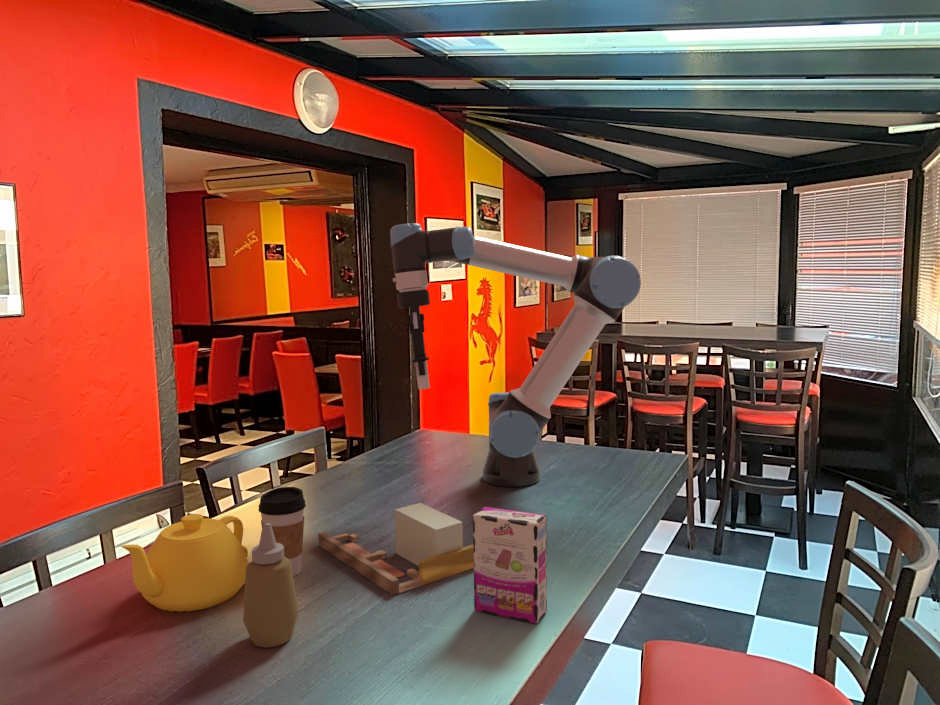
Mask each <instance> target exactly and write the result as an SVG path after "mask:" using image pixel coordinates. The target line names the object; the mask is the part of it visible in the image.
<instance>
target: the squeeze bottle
mask: <svg viewBox="0 0 940 705" xmlns="http://www.w3.org/2000/svg"><path fill="white" fill-rule="evenodd" d="M295 588H296V586H295V580H294V576H293V573H292V566H291V561H290V560H289V559H288V558H286V557H284V546H283V545H282V544H280V543H276V541H275V537H274V534H273V530H272V527H271V524H270V523H265V524H263V526H262V525H261V532H260V539H259V544H257V545H255V546H253V547H252V549H251V561H250V562H248V565H247V567H246V578H245V583H244V596H243V600H244V601H243V613H242V614H243V617H242V618H243V619H242V622H243V624H244V626H245V629H246V631H247V633H248V635H249V637H250V640H251V642H252V644H253V645H254V646H256V647H258V648H265V649H267V648H274V647H278V646H281V645H284V644H286V643H287V642H288V641H290V639H291V638H292V636H293V633H294V629H295V626H296V622H297V619H298V614H299V607H298V600H297V594H296V589H295Z"/></svg>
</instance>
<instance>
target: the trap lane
mask: <svg viewBox="0 0 940 705" xmlns="http://www.w3.org/2000/svg"><path fill="white" fill-rule="evenodd" d="M345 541H351V542H349V543H345V544H344V543H343V542H345ZM356 542H360V536H359V535H357V534H356V533H351V534H348V533H342V534H338V535H335V536H331V535H329V534H328V533H326V532H325V531H322V532H319V533H318V546H319V547H321V548H322V549H324V550H325V551H327V552H328V553H330V554H331V555H333V556H334V557H335V558H336V559H339V560H340V561H342V562H343V563H344V564H346V565H347V566H349V567H350V568H352V569H353V570H355V571H357V573H359V574H361V575H362V576H364V577H365V578H367V579H368V580H369V581H371V582H372V583H374V584H376V585H377V586H378V587H380V588H381V589H383V590H384V591H386V592H388V593H389V594H390V595H391V596H395V595H398V594H399V595H400V594H401V593H404V592H407V591H411V590H413V589H415V588H418V587H421V586H425V585H427V584H431V583H433V582H437V581H439V580H442V579H446V578H449V577H452V576H454V575H456V574H460V573H463V572H465V571H469V570H471V569H472V570H473V569H474V548H473V543H472V544H469V545H467V546H463V548H460V549H456V550H453V551H450V552H447V553H444V554H441V555H437V556H434V557H431V558H428V559H425V560H422V561H419V566H418V570H416V569H414V568H409V569H407V570H406V574H405V573H404V572H402V571H400V570H398V568H395V567H394V566H393V565H391V564H389V563H388V562H386V561H384V560H385V559H387V558H388V552H386V551H384V550H382V549H380V550H376V551H375V552H373V553H371V552H370V551H368V550H366V549H365V548H364V547H362V546H361V545H358V544H357V543H356ZM405 576H408V577H409V578H410V580H407V581H405V582H401V583H399V582H400V581H399V580H400V579H398V578H402V577H405Z"/></svg>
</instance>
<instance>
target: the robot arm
mask: <svg viewBox="0 0 940 705" xmlns="http://www.w3.org/2000/svg"><path fill="white" fill-rule="evenodd" d="M389 232H390V236H389V237H390V250H391V257H392V265H393V270H394V276H395V277H393V278H392V282H393V283H395V288H396V290H397V291H399V292H398V293H397V294H396V297H397V307H398V308H399V309H405V308H406V309H407V308H409V314H408V315H406V320H407V321H406V322H407V323H408V328H409V333H410V334H411V339H412V346H413V347H412V348H413V356H414V357H413V359H412V363H413V364H414V363H415V372H416V373H415V374H416V380H417V381H416V382H417V388H418V389H417V390H427V389H430V388H431V385H430V378H429V371H428V368H429V367H428V361H430V357H429V356H427V353H426V348H425V347H426V346H425V338H424V337H425V336H424V333H425V329H426V328H425V314H424V313H421V309H420V307H424V306H429V305H431V304H430V303H431V300H430V292H429V290H428V289H427V288H428V287H429V282H428V273H427V268H426V264H428V263H429V264H430V263H431V264H432V263H440V262H441V263H442V262H451V263H452V262H454V263H457V264H463V265H467V266H468V265H469V266H472V267H477V268H480V269H485V270H490V271H494V272H499V273H501V274H502V273H503V274H505V275H507V274H508V275H510V276H516V277H519V278H523V279H528V280H533V281H538V282H542V283H546V284H551V285H555V286H560V287H564V289H565V290H566V292H568V293H571V294H573V303H574V305H573V307H572V308H571V310H570V311H569V313H568V315H566V317H565V319H564V320H563V322H562V323H561V325H560V327H559V328H558V329H557V331H556V333H554V336H553V337H552V338H551V340H550V341H549V343H548V345H547V346H546V348H545V349H544V351H543V353H541V355H540V357H539V358H538V360H537V361H536V363H535V364H534V366H533V367H532V369H531V370H530V372H529V373H528V375H527V376H526V378H525V380H524V381H523V382H522V384H521V385H520V387H518V388H515V389H511V390H510V391H509V392H493V393H490V395H488V396H489V397H488V403H487V405H488V453H487V455H486V458H485V462H484V466H483V468H482V480H483V481H484V482H486V483H487V484H489V485H493V486H498V487H510V488H512V487H513V488H514V487H517V488H518V487H526V486H530V485H534V484H536V483H538V482H540V480H541V470H540V466H539V463H538V460H537V457H536V454H535V449H536V447H537V446H538V444H539V442H540V439H541V434H542V431H543V430H544V428H545V427H546V426H547V424H548V422H549V421H550V419H551V418H552V415H551V406H552V405H553V403H554V402H555V400H556V399H557V398H558V396H559V395H560V393H561V391H562V390H563V388H564V387H565V385H566V384H567V382H568V381H569V379H570V378H571V376H573V373H574V372H575V370H576V369H577V368H578V366H579V364H580V363H581V361H582V360H583V359H584V357H585V355H586V354H587V352H588V351H589V349H590V348H591V347H592V345H593V344H594V342H595V340H596V339H597V337H598V336H599V334H600V333H601V331H602V330H603V328H604V327H605V325H608V324H611V323H615V322H616V320H617V319H618V318H619V316H620V314H621V313H622V312H623V310H624V309H625V307H627V306H629V305H630V304H631V303H633V301H635V299H636V298H637V297H638V294H639V292H640V290H641V284H642V282H641V281H642V279H641V275H640V272H639V269H638V268H637V266H636V265H635V264H634V263H633V262H631V261H630V260H629V259H627V258H624V257H622V256H620V255H614V254H613V255H607V256H598V257H597V256H595V257H594V256H585V255H579V254H575V255H573V256H571V257H570V256H565V255H562V254H558V253H553V252H549V251H548V252H547V251H544V250H539V249H535V248H531V247H525V246H521V245H517V244H513V243H508V242H504V241H498V240H494V239H490V238H486V237H483V236H482V237H481V236H476V235H473V229H472V228H471V227H470V226H455V227H448V228H441V229H434V230H433V229H432V230H423V229H422V225H421V224H420V223H416V222H415V223H414V222H412V223H401V224H395V225H393V226H392V227H391V228H390V231H389Z"/></svg>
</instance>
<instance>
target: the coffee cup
mask: <svg viewBox="0 0 940 705" xmlns="http://www.w3.org/2000/svg"><path fill="white" fill-rule="evenodd" d="M259 500H260V501H259V504H258V512H259V513H260V515H261V516H260V518H261V520H260V525H261V527H262V526H263V524H265V523H270V524H271V527H272V530H273V534H274V537H275V541H276V543H280V544H282V545H283V546H284V557H286V558H288V559H289V560H290V561H291V566H292V573H293V577H295V576H297V575H299V574H300V573H301V571H302V564H303V562H302V561H303V560H302V558H303V546H304V544H303V543H304V528H305V516H304V509H305V508H306V500H305V498H304V493H303V490H302V489H301V488H299V487H295V486H284V487H283V486H282V487H278V488H274V489H271V490H269V491H267V492H264V493H263V494H262V495H261V496H260V498H259Z"/></svg>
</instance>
